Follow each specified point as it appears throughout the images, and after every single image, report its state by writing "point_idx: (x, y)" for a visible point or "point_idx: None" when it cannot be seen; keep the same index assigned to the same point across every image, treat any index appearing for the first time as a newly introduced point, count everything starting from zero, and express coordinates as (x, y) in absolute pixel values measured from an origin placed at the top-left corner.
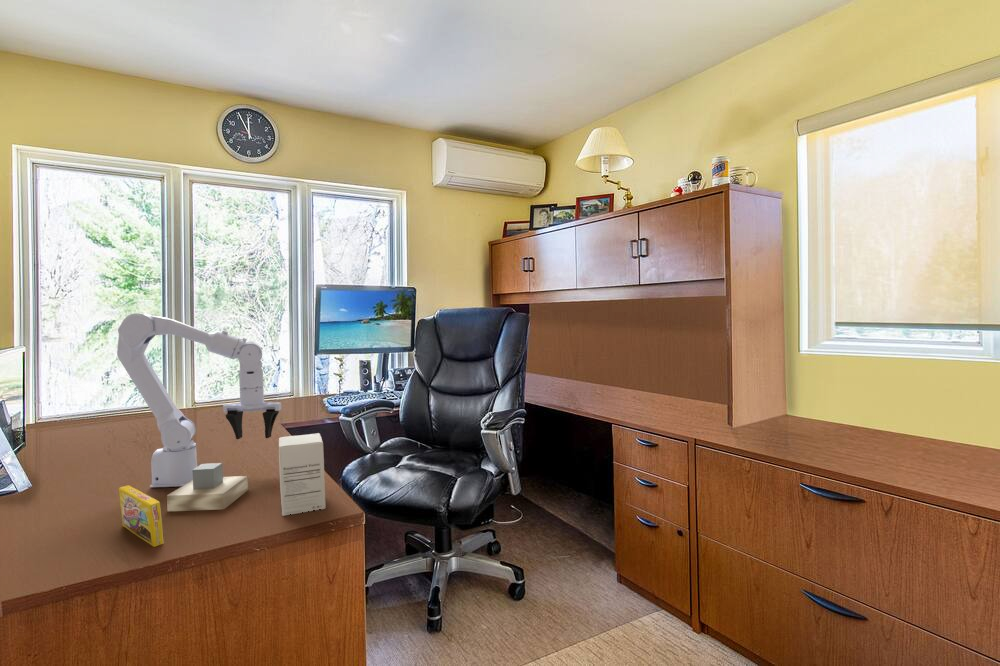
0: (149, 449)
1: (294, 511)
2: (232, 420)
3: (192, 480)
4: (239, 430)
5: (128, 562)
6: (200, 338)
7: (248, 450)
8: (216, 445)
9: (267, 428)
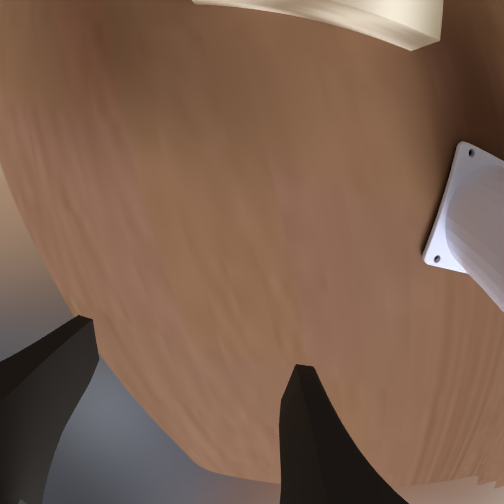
0: (480, 459)
1: None
2: (358, 501)
3: (440, 7)
4: (293, 430)
5: None
6: None
7: None
8: None
9: (29, 351)
